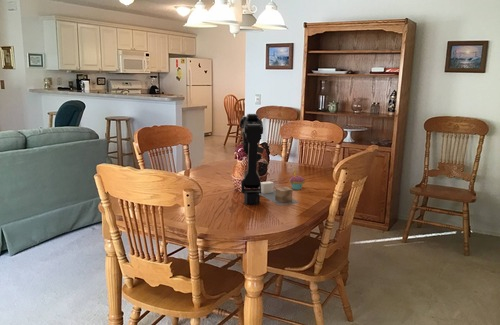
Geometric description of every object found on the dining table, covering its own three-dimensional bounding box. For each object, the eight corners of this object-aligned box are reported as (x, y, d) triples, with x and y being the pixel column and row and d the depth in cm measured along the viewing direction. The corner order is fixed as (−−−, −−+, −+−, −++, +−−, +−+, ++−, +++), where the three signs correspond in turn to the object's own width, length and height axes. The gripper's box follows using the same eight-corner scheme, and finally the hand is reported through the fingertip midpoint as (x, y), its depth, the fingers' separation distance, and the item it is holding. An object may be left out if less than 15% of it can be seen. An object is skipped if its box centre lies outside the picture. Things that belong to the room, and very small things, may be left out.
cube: (281, 203, 201) (281, 191, 200) (275, 199, 206) (275, 188, 205) (292, 201, 204) (292, 189, 202) (285, 198, 209) (286, 186, 208)
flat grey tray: (279, 206, 198) (280, 195, 197) (254, 193, 220) (255, 182, 218) (299, 204, 203) (299, 192, 202) (273, 191, 225) (273, 180, 223)
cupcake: (292, 191, 226) (292, 169, 223) (286, 187, 234) (287, 165, 231) (306, 190, 228) (307, 168, 225) (301, 186, 236) (301, 165, 233)
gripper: (271, 142, 211) (270, 172, 215) (254, 137, 228) (253, 165, 231) (251, 143, 206) (250, 174, 210) (235, 138, 223) (235, 167, 226)
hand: (248, 170), depth 219 cm, fingers open, 9 cm apart
